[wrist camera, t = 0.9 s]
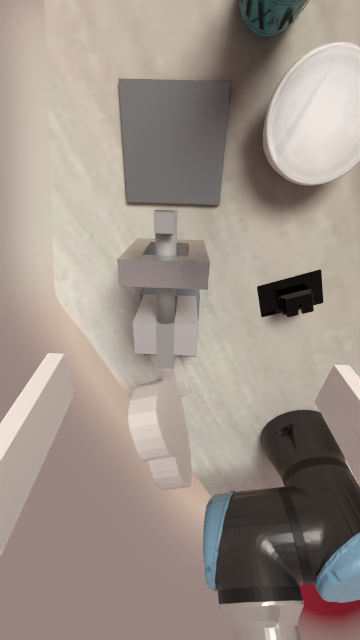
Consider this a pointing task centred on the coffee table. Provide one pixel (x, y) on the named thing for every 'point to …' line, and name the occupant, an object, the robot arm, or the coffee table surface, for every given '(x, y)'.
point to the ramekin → (316, 116)
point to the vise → (166, 307)
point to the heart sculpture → (162, 426)
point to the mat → (173, 139)
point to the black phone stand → (291, 295)
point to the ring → (164, 266)
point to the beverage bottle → (270, 15)
